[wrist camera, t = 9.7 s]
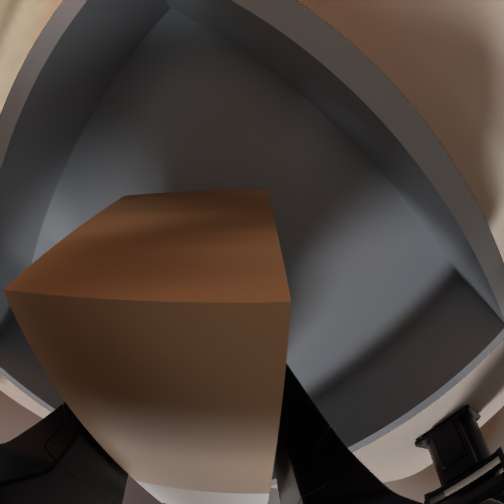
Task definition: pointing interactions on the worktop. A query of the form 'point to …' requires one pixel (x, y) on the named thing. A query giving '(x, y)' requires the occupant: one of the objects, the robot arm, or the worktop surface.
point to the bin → (260, 187)
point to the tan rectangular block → (169, 338)
